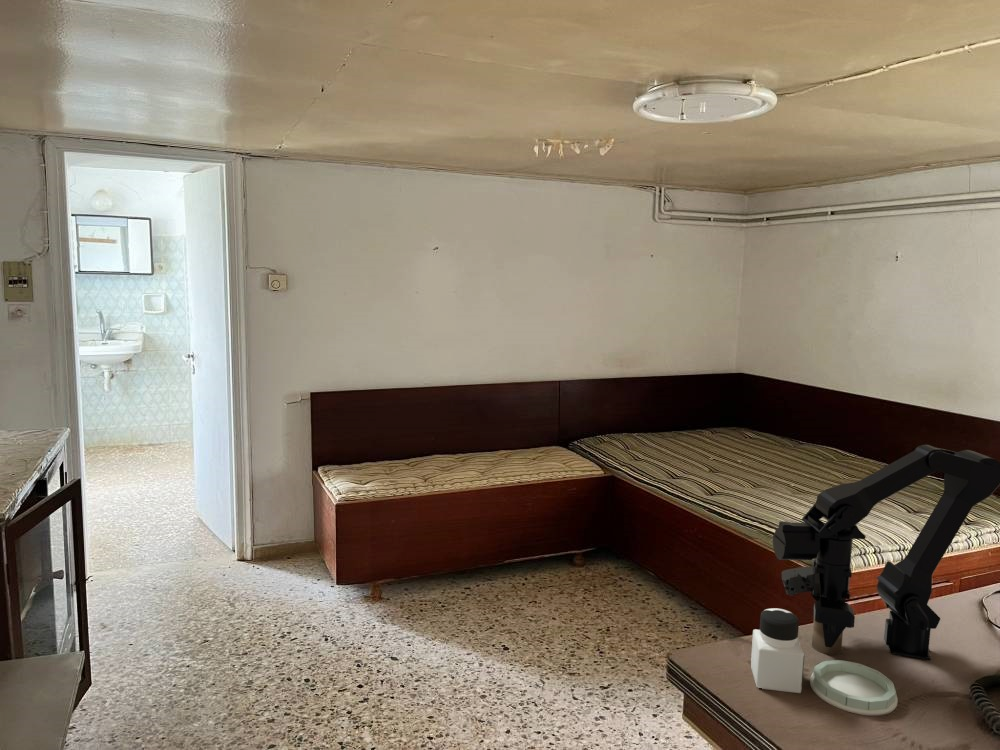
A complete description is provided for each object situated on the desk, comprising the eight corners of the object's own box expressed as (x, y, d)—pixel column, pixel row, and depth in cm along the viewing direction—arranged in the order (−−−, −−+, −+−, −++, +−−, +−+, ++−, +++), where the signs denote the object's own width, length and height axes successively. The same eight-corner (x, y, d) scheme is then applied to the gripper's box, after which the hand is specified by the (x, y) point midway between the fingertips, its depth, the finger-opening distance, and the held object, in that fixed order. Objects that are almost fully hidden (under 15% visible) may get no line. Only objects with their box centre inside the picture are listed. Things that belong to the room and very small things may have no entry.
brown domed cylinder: (839, 643, 133) (842, 608, 132) (842, 657, 128) (845, 620, 127) (811, 638, 135) (813, 604, 134) (812, 651, 130) (815, 615, 129)
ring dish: (890, 679, 121) (891, 667, 121) (903, 723, 109) (905, 710, 109) (808, 664, 126) (808, 653, 126) (812, 704, 114) (813, 692, 114)
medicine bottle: (802, 694, 117) (807, 625, 115) (756, 689, 118) (760, 621, 116) (793, 671, 124) (798, 606, 122) (750, 666, 125) (754, 602, 123)
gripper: (784, 536, 141) (779, 610, 143) (787, 572, 123) (781, 656, 126) (846, 544, 137) (840, 620, 139) (858, 582, 120) (851, 668, 122)
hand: (827, 639), depth 131 cm, fingers closed on brown domed cylinder, 5 cm apart
